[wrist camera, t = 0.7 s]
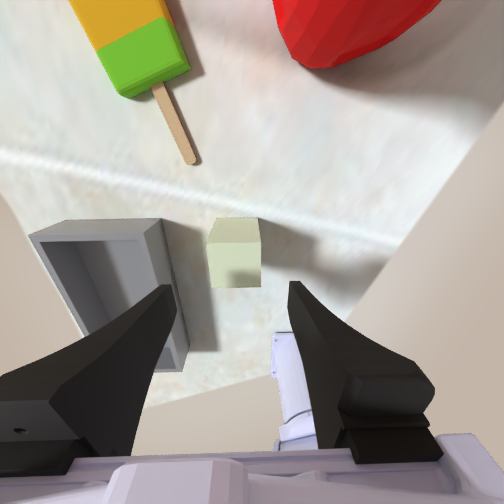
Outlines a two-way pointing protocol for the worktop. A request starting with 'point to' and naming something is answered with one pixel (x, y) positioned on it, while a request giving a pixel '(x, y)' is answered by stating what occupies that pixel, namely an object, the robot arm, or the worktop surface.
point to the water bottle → (344, 27)
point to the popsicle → (138, 52)
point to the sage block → (234, 253)
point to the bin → (112, 273)
